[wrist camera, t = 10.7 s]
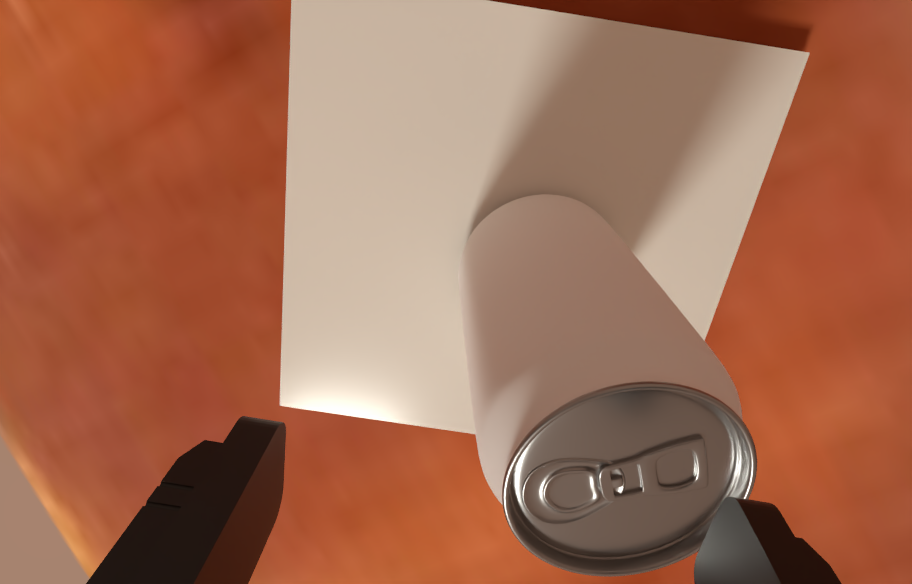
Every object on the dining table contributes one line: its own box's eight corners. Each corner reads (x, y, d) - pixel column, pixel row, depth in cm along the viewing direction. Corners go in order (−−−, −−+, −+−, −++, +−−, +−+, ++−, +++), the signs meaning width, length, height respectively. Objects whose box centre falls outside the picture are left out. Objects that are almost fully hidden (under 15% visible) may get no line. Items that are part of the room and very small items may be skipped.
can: (438, 215, 22) (448, 410, 12) (605, 170, 22) (775, 331, 11) (478, 353, 25) (517, 612, 15) (627, 316, 25) (780, 556, 14)
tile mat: (798, 52, 21) (809, 52, 20) (655, 449, 28) (660, 461, 28) (299, -30, 21) (292, -32, 20) (285, 395, 28) (279, 405, 27)
